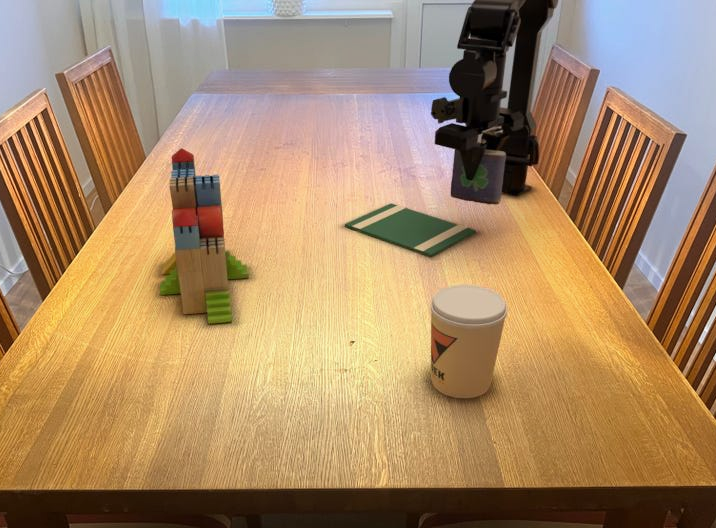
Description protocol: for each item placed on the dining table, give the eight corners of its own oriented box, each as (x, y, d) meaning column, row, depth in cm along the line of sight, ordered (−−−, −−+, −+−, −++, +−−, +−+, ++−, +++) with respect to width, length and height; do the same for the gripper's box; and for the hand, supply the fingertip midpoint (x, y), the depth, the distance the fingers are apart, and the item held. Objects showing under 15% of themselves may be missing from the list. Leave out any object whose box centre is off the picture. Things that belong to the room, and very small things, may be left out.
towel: (390, 206, 149) (391, 202, 149) (475, 233, 138) (476, 229, 137) (344, 226, 140) (344, 223, 140) (431, 257, 129) (431, 254, 129)
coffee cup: (418, 363, 101) (424, 284, 95) (486, 360, 102) (496, 281, 95) (432, 404, 93) (439, 321, 87) (505, 400, 94) (517, 318, 88)
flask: (502, 201, 132) (509, 141, 126) (496, 207, 130) (504, 146, 124) (453, 192, 135) (458, 133, 129) (447, 197, 133) (451, 138, 127)
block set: (255, 321, 111) (246, 197, 100) (158, 329, 109) (139, 203, 98) (243, 243, 134) (235, 136, 124) (163, 248, 132) (148, 140, 122)
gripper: (475, 68, 132) (466, 155, 141) (411, 86, 121) (405, 180, 129) (531, 78, 126) (518, 168, 135) (468, 98, 114) (459, 195, 123)
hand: (475, 177), depth 130 cm, fingers closed on flask, 3 cm apart
